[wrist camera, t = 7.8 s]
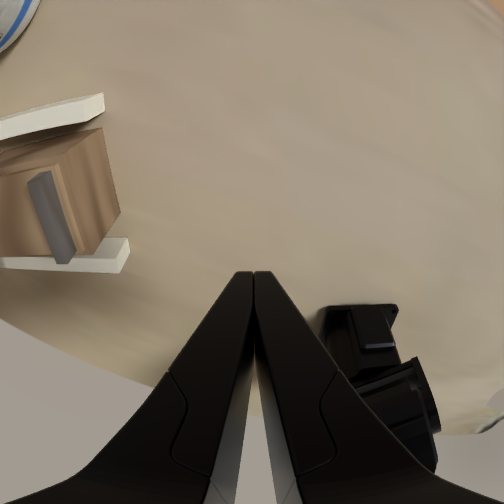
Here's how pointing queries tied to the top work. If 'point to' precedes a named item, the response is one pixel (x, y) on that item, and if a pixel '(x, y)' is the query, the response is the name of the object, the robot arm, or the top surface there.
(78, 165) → the block
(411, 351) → the top surface
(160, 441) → the robot arm
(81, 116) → the bay
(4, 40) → the supplement tub
